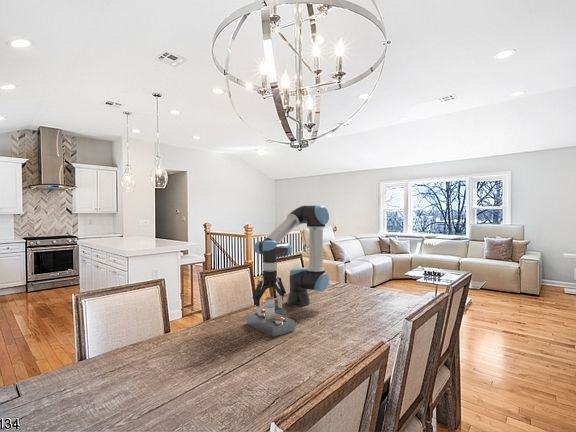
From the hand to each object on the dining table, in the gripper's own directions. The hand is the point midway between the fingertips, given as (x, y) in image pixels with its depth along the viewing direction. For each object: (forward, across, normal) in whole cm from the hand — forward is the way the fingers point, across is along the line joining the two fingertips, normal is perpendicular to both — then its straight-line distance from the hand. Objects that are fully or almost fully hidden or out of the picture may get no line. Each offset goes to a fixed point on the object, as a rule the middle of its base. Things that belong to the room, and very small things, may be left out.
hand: (269, 309), depth 169 cm
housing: (+9, 0, 0) cm, 9 cm away
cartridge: (+9, 0, 0) cm, 9 cm away
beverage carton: (+10, -15, -14) cm, 23 cm away
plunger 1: (+8, 0, -8) cm, 12 cm away
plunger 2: (+8, 0, +8) cm, 12 cm away
